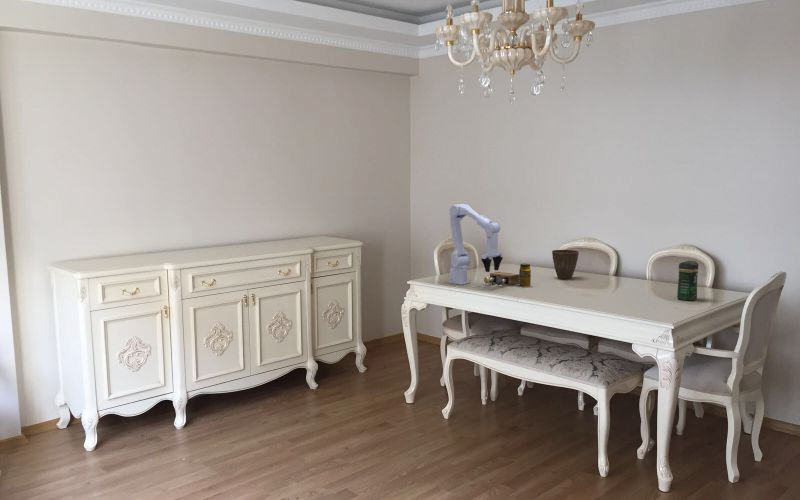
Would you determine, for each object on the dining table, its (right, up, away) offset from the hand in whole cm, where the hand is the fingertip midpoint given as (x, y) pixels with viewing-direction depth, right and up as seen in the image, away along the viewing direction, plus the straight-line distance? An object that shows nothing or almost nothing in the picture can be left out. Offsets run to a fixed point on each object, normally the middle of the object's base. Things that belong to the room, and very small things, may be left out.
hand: (492, 271), depth 353 cm
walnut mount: (+9, -8, +15) cm, 19 cm away
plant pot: (+46, -6, +30) cm, 55 cm away
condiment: (+18, -9, +7) cm, 21 cm away
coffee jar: (+89, -13, -34) cm, 96 cm away
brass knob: (+2, -7, +14) cm, 15 cm away
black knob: (+7, -7, +8) cm, 13 cm away
